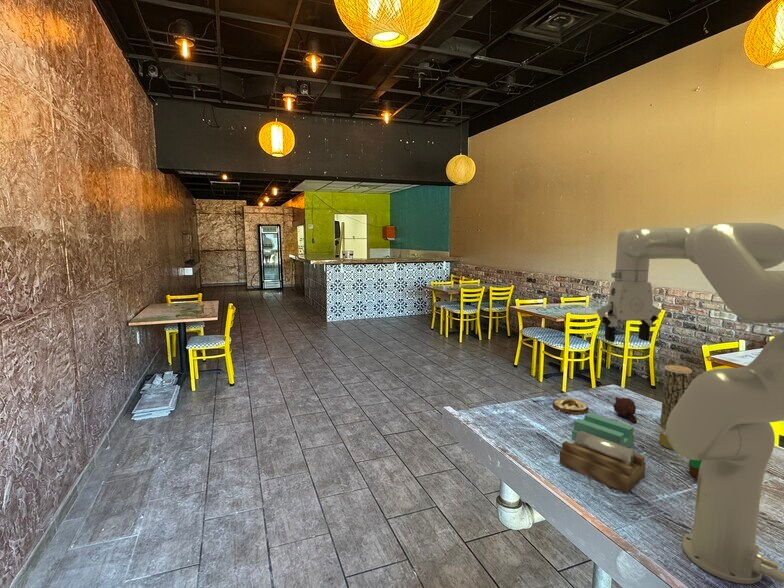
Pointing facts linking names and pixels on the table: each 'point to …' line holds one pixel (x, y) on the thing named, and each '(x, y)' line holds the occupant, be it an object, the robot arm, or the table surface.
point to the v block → (605, 429)
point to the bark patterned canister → (672, 395)
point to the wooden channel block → (602, 466)
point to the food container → (694, 468)
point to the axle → (605, 448)
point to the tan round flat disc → (570, 406)
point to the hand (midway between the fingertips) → (626, 340)
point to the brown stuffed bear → (625, 408)
